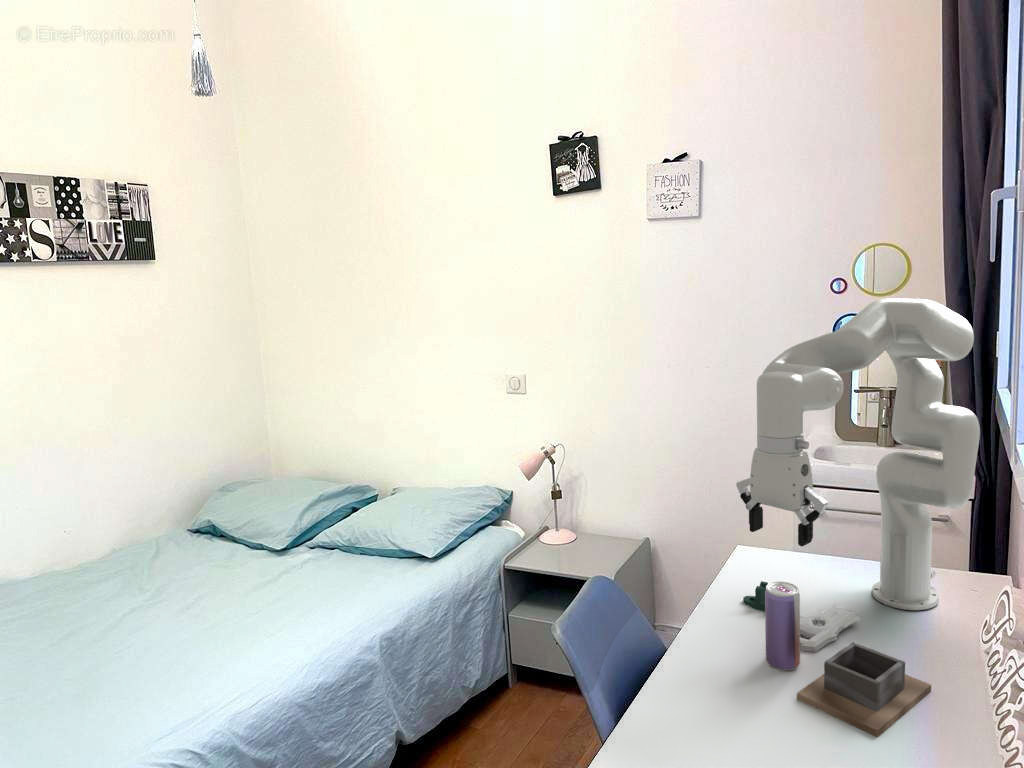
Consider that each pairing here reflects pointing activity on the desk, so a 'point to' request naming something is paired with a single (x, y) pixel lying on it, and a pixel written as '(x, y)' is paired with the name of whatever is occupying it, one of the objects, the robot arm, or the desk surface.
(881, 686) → the can dock
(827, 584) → the desk surface
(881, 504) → the robot arm
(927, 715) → the desk surface
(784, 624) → the beverage can
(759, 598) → the mount
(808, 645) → the grey mechanical plate
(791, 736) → the desk surface
